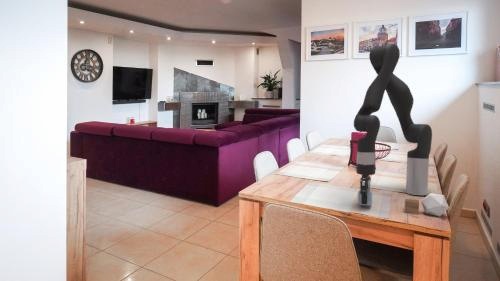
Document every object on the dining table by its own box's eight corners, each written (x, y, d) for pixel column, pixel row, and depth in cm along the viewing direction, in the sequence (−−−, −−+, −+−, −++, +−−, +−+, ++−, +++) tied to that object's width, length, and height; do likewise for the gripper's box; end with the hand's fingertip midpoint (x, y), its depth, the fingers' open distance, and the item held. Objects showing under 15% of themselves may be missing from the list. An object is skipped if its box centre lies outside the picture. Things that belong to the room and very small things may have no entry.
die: (418, 214, 126) (447, 222, 121) (422, 192, 125) (452, 199, 120) (418, 208, 133) (446, 216, 129) (423, 188, 132) (451, 194, 128)
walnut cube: (405, 210, 133) (405, 198, 133) (418, 211, 131) (419, 199, 131) (404, 213, 129) (405, 200, 129) (418, 214, 127) (419, 202, 126)
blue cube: (359, 201, 139) (359, 190, 139) (372, 202, 137) (372, 191, 136) (358, 204, 135) (358, 192, 134) (370, 205, 132) (370, 193, 132)
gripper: (359, 160, 143) (358, 197, 144) (353, 164, 130) (353, 205, 131) (377, 161, 139) (376, 199, 140) (373, 165, 127) (372, 207, 128)
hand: (365, 202), depth 136 cm, fingers closed on blue cube, 5 cm apart
